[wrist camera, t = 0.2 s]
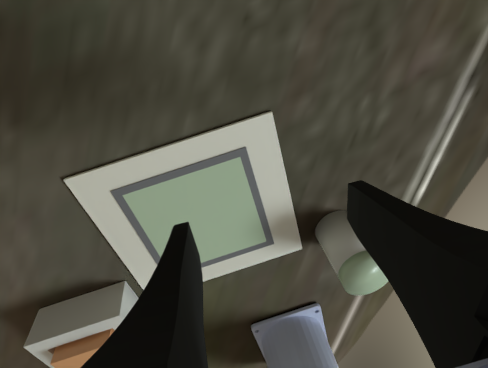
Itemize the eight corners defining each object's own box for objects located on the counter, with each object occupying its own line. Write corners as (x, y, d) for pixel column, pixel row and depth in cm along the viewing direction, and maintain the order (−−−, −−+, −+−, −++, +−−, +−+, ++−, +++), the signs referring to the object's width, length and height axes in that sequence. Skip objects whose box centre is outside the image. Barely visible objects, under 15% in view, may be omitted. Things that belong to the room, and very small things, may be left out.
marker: (357, 235, 30) (392, 285, 25) (317, 248, 30) (345, 301, 25) (354, 204, 28) (393, 252, 23) (312, 218, 28) (341, 269, 23)
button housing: (161, 328, 32) (160, 362, 29) (87, 352, 32) (78, 389, 29) (125, 280, 28) (119, 315, 25) (39, 309, 28) (23, 347, 25)
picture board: (301, 246, 30) (302, 249, 29) (150, 296, 29) (150, 299, 29) (271, 110, 22) (272, 112, 21) (64, 178, 22) (62, 181, 21)
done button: (137, 345, 29) (135, 372, 28) (89, 362, 29) (83, 389, 27) (112, 318, 27) (107, 345, 25) (59, 335, 27) (49, 364, 25)
